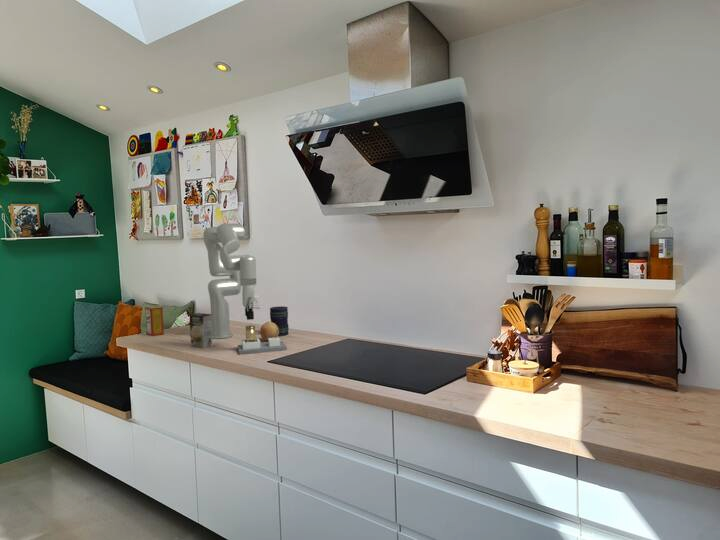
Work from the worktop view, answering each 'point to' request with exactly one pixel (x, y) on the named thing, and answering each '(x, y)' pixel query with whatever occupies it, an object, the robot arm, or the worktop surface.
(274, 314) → the storage jar
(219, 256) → the robot arm
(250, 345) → the manifold plate
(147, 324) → the baking soda box
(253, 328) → the brass stub
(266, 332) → the onion
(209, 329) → the coffee box
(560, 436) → the worktop surface
